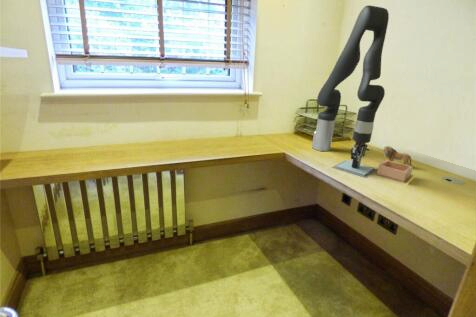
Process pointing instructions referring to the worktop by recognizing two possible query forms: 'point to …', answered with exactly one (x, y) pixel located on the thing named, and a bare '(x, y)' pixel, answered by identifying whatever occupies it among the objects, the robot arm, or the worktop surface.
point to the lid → (359, 170)
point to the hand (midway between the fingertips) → (355, 166)
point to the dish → (394, 170)
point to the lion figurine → (396, 155)
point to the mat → (354, 173)
